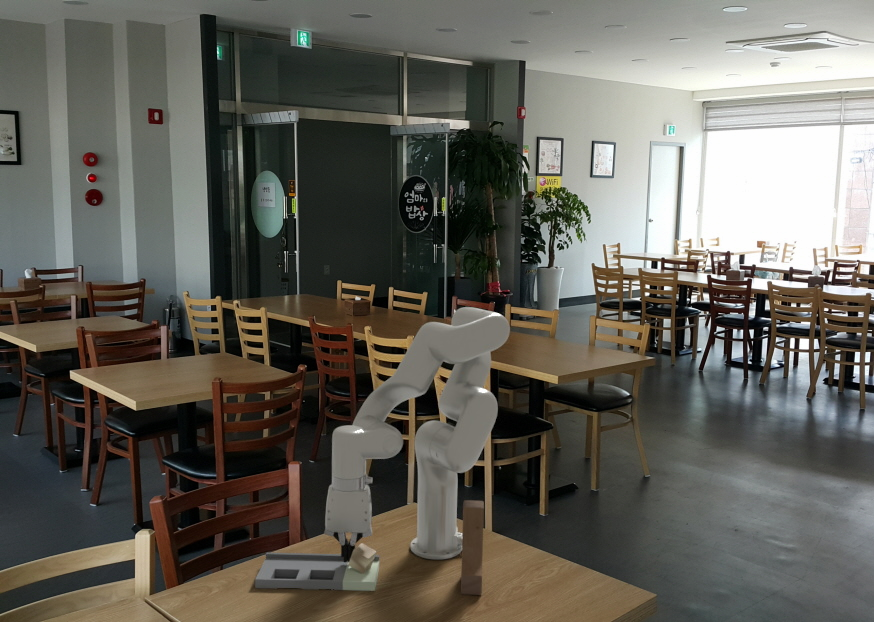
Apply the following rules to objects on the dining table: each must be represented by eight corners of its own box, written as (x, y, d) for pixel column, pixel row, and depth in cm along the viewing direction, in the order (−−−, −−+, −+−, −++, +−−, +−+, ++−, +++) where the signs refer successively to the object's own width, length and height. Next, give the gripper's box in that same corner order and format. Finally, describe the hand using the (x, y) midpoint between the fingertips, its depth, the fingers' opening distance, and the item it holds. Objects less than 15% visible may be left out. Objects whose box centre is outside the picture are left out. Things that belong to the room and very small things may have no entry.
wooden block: (481, 595, 171) (483, 516, 169) (460, 595, 172) (462, 515, 169) (481, 576, 180) (483, 500, 178) (461, 575, 181) (463, 499, 178)
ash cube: (371, 566, 180) (376, 551, 179) (363, 573, 176) (368, 558, 175) (356, 557, 181) (361, 542, 180) (348, 564, 177) (353, 549, 176)
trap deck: (379, 567, 184) (379, 555, 183) (374, 590, 173) (375, 577, 172) (266, 564, 184) (266, 552, 183) (255, 587, 173) (255, 574, 173)
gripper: (383, 476, 181) (382, 553, 184) (318, 475, 181) (317, 551, 184) (381, 488, 174) (379, 568, 176) (312, 486, 174) (312, 566, 176)
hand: (348, 559), depth 180 cm, fingers closed
